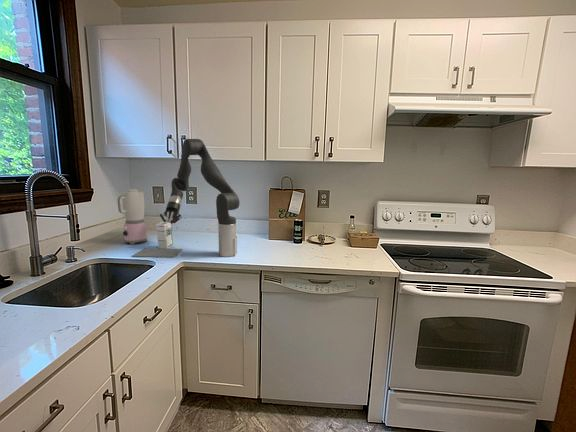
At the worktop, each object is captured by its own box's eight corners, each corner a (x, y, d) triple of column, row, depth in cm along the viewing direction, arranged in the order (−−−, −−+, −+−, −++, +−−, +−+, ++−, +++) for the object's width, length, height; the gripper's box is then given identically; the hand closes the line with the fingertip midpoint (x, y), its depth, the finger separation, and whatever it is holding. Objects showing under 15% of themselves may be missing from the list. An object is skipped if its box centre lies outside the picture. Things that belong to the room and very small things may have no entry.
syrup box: (167, 249, 161) (165, 224, 158) (158, 248, 162) (155, 224, 159) (173, 246, 167) (171, 222, 163) (164, 245, 168) (161, 221, 164)
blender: (139, 238, 183) (135, 188, 178) (152, 241, 177) (149, 189, 172) (114, 244, 169) (110, 189, 164) (127, 247, 164) (123, 191, 158)
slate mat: (182, 249, 161) (182, 248, 161) (173, 257, 148) (173, 256, 147) (144, 249, 161) (144, 248, 161) (131, 256, 147) (131, 255, 147)
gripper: (161, 200, 172) (153, 224, 162) (183, 201, 172) (176, 225, 162) (165, 208, 178) (157, 231, 168) (186, 208, 178) (180, 232, 168)
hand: (167, 228), depth 165 cm, fingers closed
